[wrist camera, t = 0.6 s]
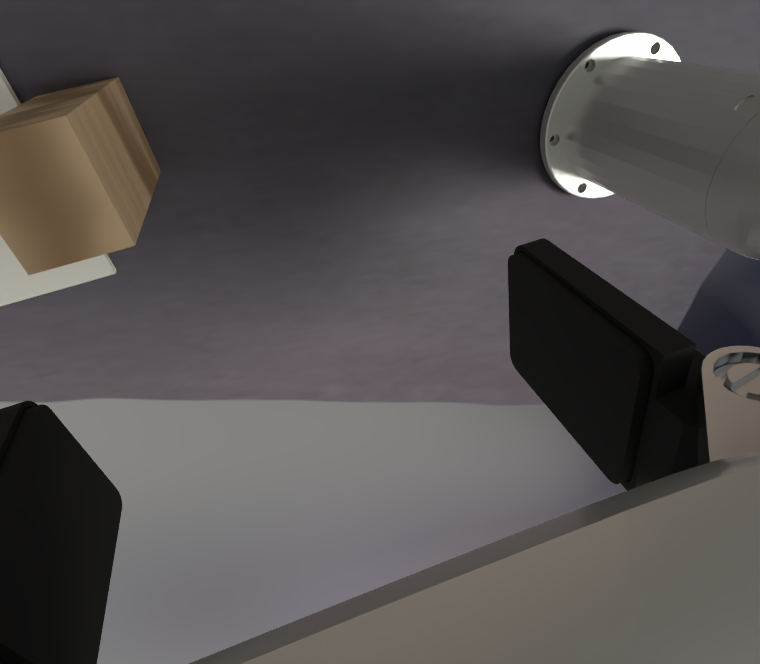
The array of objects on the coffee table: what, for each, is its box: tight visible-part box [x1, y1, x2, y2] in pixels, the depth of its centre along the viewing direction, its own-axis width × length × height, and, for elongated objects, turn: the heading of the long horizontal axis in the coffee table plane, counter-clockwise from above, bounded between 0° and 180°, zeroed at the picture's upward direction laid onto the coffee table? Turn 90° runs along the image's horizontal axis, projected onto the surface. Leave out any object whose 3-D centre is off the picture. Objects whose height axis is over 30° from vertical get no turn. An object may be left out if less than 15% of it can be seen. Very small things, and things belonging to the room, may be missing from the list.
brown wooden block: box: [0, 77, 161, 275], centre depth 27 cm, size 5×6×13 cm
